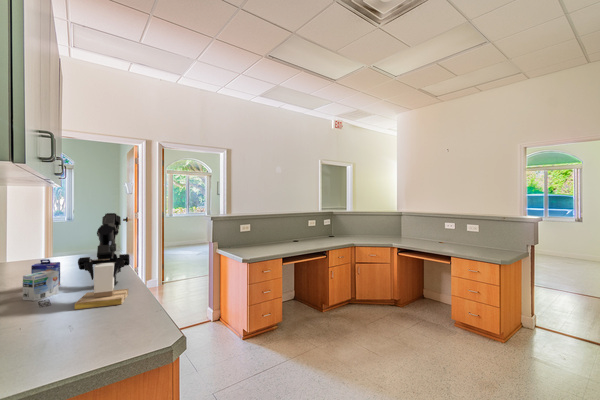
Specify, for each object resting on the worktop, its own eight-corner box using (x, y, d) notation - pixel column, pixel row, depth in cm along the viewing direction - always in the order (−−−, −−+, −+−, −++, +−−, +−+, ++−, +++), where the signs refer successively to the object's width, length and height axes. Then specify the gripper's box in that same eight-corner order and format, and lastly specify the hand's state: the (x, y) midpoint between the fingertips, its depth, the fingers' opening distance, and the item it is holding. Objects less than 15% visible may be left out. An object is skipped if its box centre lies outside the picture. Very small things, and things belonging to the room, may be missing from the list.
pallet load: (96, 293, 123) (96, 263, 123) (113, 291, 126) (114, 262, 126) (93, 297, 118) (94, 266, 118) (112, 295, 121) (113, 265, 121)
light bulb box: (33, 301, 121) (33, 276, 121) (21, 300, 123) (21, 275, 123) (59, 293, 132) (59, 270, 132) (48, 292, 133) (48, 269, 133)
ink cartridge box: (30, 290, 135) (30, 260, 135) (36, 287, 141) (36, 258, 141) (55, 288, 139) (56, 259, 139) (60, 285, 144) (60, 257, 144)
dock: (86, 298, 125) (86, 292, 125) (128, 294, 131) (128, 288, 131) (74, 309, 112) (74, 303, 112) (121, 304, 118) (121, 298, 118)
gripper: (78, 239, 121) (73, 270, 111) (129, 236, 130) (128, 265, 120) (82, 254, 127) (77, 285, 118) (130, 250, 137) (129, 279, 127)
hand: (103, 278), depth 121 cm, fingers open, 7 cm apart
